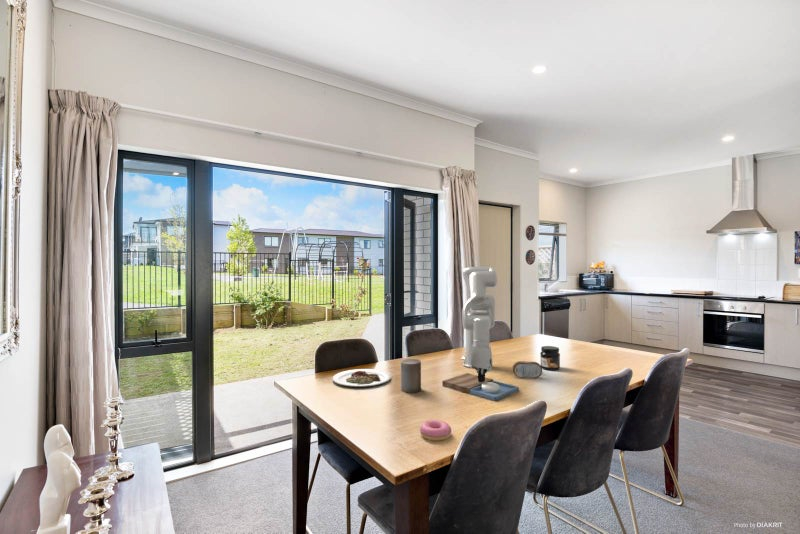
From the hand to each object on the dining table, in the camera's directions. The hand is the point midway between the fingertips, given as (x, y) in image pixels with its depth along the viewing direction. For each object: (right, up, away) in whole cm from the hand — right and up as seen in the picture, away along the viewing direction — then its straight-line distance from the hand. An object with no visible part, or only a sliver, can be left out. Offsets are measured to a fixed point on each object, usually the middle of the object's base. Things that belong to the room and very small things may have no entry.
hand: (481, 381), depth 186 cm
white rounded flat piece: (+3, -2, -4) cm, 5 cm away
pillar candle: (-34, -4, -1) cm, 34 cm away
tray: (+5, -4, -5) cm, 8 cm away
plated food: (-59, -4, +16) cm, 61 cm away
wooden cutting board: (-5, -4, +6) cm, 9 cm away
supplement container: (+47, -4, +36) cm, 59 cm away
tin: (+28, -4, +18) cm, 34 cm away
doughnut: (-27, -4, -50) cm, 57 cm away
